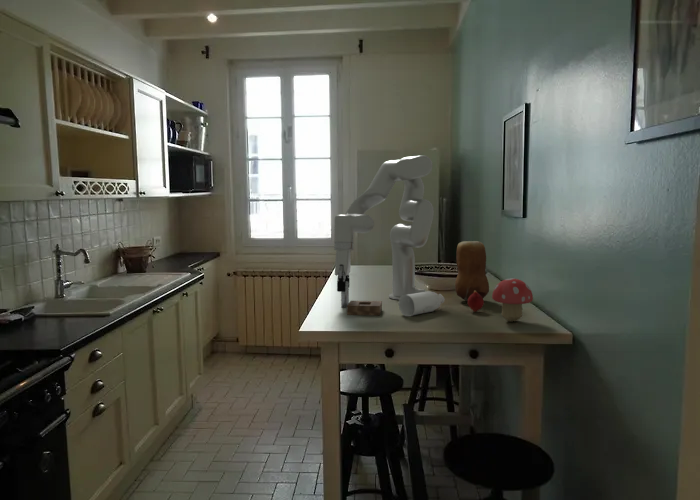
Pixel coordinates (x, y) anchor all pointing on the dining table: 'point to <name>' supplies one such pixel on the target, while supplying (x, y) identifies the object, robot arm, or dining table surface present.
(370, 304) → the hole block
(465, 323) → the dining table surface
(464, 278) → the butternut squash
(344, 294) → the peg
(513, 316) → the decorative mushroom
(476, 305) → the onion
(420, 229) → the robot arm
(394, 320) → the dining table surface
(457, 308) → the dining table surface
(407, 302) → the white plastic bottle
